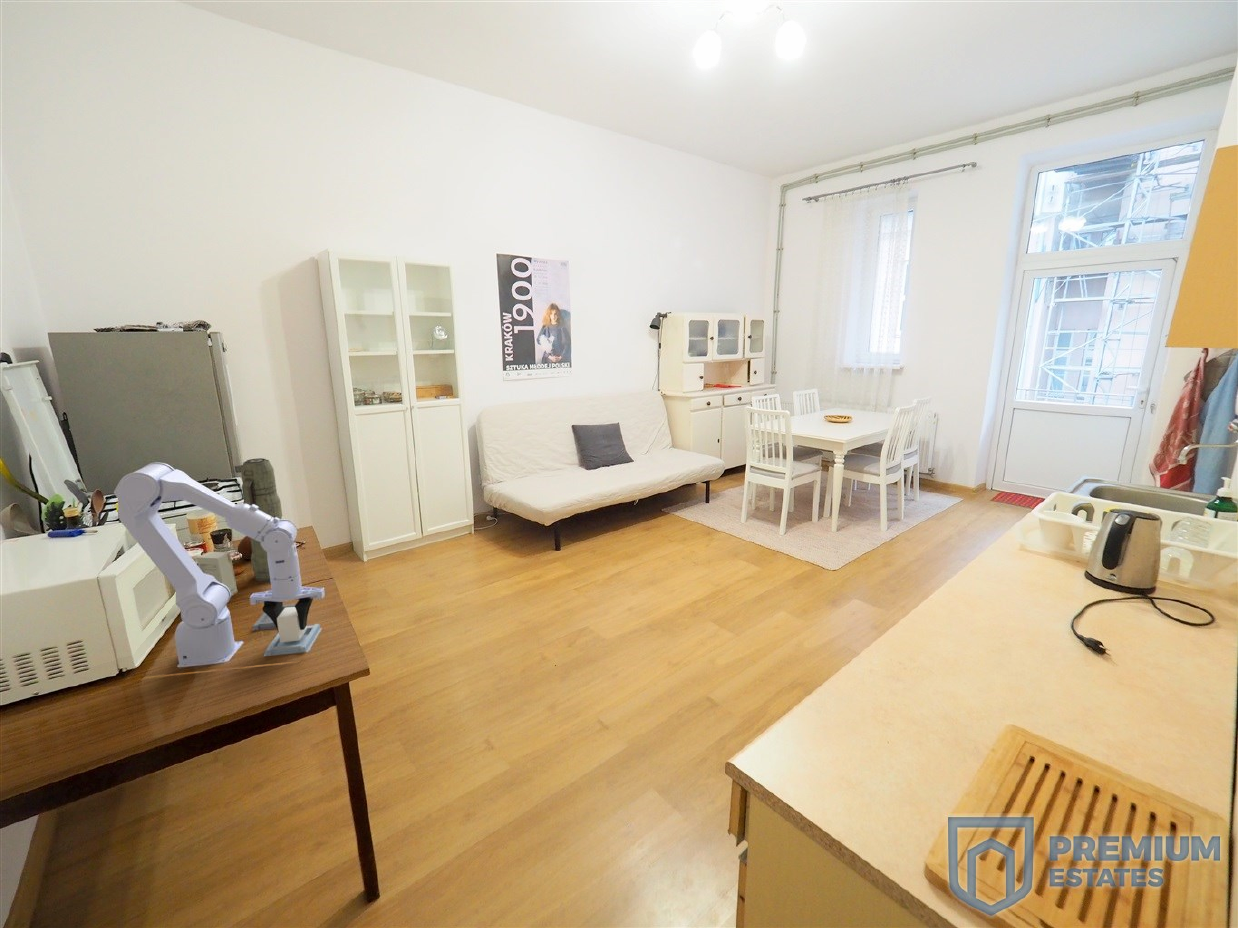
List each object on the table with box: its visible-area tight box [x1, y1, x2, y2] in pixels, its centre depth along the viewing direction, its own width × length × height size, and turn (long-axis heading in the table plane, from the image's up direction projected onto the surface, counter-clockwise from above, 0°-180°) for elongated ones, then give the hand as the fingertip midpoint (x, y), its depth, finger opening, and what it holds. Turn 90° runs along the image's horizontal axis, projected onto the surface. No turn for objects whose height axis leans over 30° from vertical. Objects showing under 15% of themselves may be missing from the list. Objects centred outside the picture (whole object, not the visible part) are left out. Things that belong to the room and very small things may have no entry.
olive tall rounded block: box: [240, 457, 283, 582], centre depth 150 cm, size 9×12×35 cm
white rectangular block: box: [277, 607, 308, 642], centre depth 120 cm, size 4×5×6 cm
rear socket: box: [251, 603, 297, 632], centre depth 130 cm, size 9×10×2 cm
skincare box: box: [196, 551, 238, 597], centre depth 139 cm, size 6×4×12 cm
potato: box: [236, 535, 252, 560], centre depth 166 cm, size 8×12×8 cm, turn 0°
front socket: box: [263, 623, 323, 657], centre depth 120 cm, size 9×10×2 cm
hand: (292, 628), depth 119 cm, fingers closed on white rectangular block, 4 cm apart
